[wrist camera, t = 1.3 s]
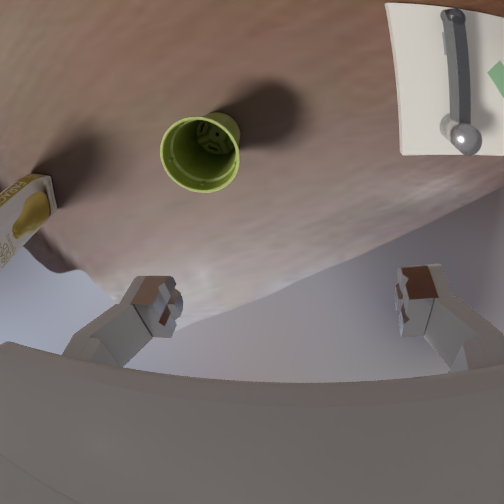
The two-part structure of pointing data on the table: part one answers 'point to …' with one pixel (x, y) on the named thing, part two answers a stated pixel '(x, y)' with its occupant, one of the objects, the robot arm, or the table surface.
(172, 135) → the plant pot
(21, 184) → the juice carton
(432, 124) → the dial board
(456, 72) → the grey lever handle
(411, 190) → the table surface
